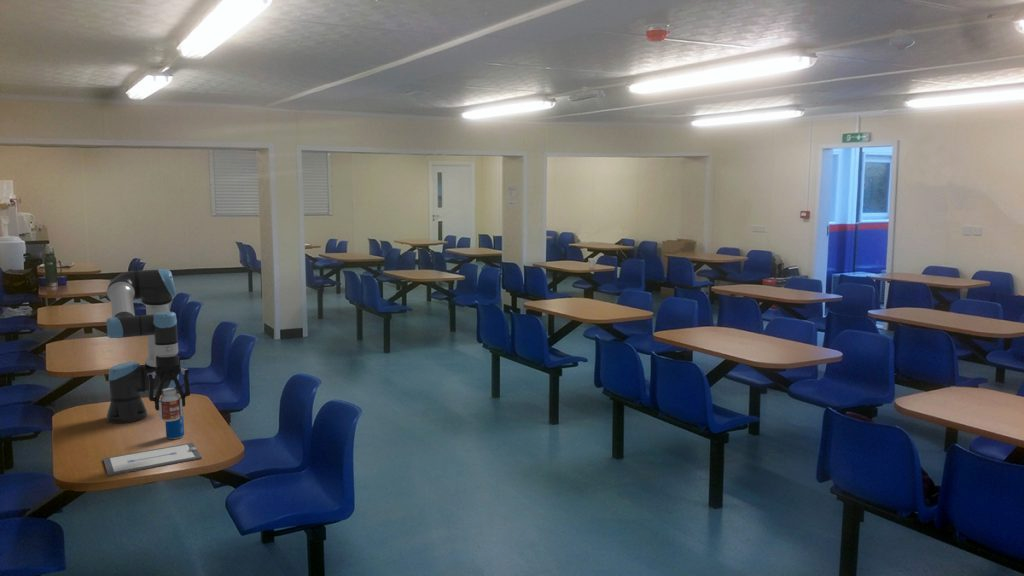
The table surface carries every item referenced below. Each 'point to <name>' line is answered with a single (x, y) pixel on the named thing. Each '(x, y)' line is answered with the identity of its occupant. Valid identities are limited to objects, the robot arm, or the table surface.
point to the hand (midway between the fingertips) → (170, 416)
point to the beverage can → (175, 428)
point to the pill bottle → (170, 405)
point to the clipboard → (151, 459)
